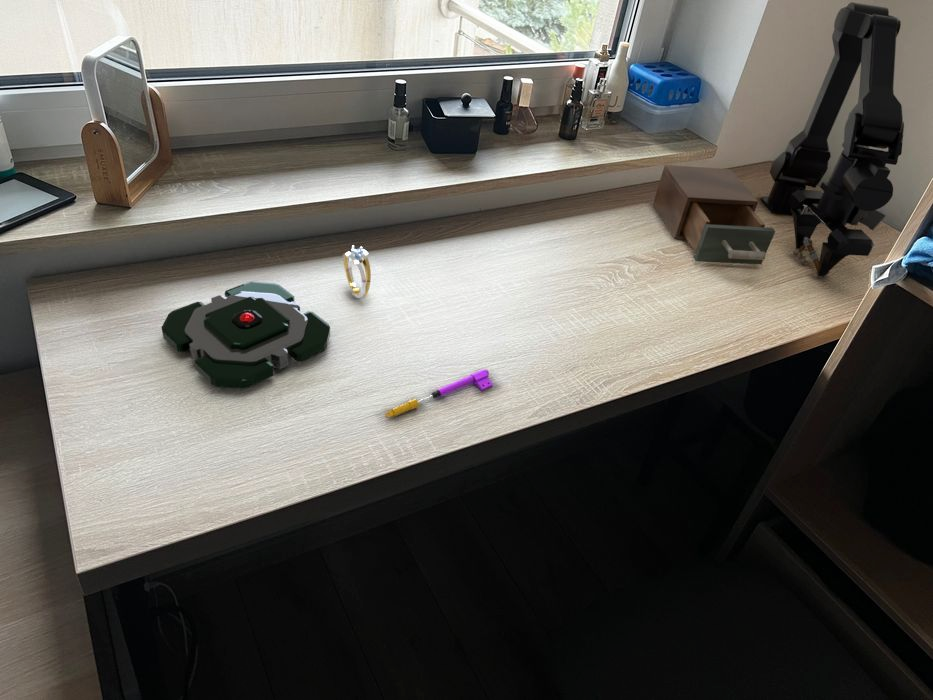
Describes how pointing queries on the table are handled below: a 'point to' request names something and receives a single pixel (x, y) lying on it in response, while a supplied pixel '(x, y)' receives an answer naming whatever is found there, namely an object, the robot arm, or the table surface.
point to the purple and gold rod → (447, 391)
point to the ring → (358, 258)
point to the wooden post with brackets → (811, 252)
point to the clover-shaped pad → (246, 334)
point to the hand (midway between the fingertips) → (809, 263)
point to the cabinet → (696, 192)
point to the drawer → (726, 233)
